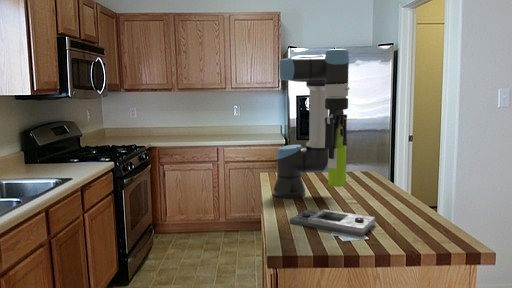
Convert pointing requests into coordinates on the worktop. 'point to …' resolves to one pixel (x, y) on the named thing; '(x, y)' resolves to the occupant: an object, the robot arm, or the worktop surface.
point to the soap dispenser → (338, 164)
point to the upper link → (345, 222)
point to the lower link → (303, 220)
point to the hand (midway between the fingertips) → (336, 166)
